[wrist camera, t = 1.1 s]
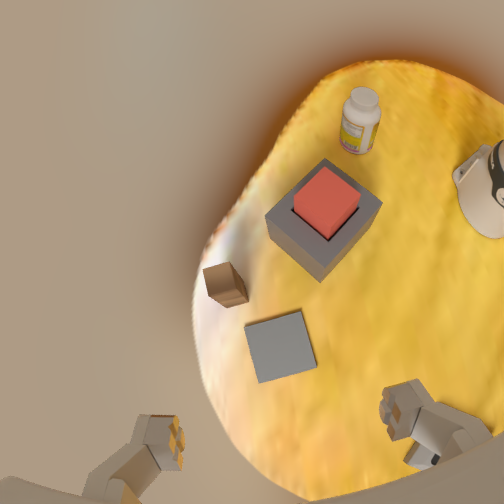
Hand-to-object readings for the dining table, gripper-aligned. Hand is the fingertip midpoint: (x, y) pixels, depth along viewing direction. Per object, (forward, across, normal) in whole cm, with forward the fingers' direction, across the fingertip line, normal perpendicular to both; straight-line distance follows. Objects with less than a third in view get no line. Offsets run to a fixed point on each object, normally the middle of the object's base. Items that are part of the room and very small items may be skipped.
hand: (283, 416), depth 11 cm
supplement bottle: (+51, -22, -10) cm, 56 cm away
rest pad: (+31, -3, +19) cm, 37 cm away
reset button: (+35, -11, 0) cm, 36 cm away
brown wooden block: (+38, +3, +12) cm, 40 cm away
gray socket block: (+41, -12, +5) cm, 43 cm away
